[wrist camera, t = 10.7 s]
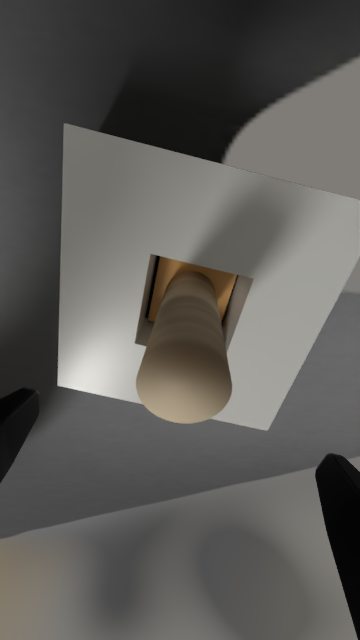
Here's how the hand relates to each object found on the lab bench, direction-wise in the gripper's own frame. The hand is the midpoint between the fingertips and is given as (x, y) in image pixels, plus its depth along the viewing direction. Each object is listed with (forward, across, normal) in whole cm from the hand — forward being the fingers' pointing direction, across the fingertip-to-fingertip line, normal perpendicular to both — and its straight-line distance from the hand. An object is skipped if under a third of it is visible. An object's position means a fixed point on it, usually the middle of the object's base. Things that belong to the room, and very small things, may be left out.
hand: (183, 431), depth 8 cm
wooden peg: (+12, 0, 0) cm, 12 cm away
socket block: (+13, 0, 0) cm, 13 cm away
